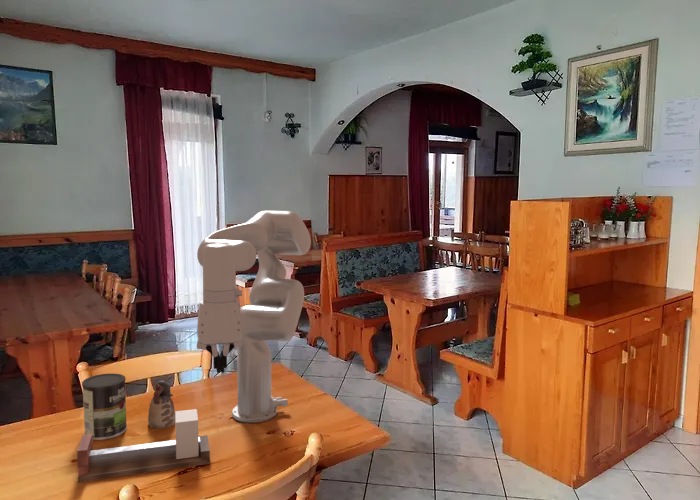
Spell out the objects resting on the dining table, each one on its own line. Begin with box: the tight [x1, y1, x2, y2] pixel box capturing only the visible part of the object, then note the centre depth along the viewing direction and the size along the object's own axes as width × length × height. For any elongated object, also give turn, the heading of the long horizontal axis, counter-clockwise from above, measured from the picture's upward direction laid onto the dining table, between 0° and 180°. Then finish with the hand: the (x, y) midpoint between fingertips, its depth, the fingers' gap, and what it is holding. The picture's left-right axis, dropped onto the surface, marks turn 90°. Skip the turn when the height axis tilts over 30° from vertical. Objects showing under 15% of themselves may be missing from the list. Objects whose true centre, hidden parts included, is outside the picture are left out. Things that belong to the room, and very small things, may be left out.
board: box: [76, 433, 211, 483], centre depth 124 cm, size 28×9×7 cm, turn 108°
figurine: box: [147, 380, 176, 430], centre depth 145 cm, size 7×7×12 cm
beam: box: [89, 436, 200, 468], centre depth 124 cm, size 24×2×3 cm, turn 108°
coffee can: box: [81, 372, 128, 441], centre depth 139 cm, size 10×10×14 cm
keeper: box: [175, 408, 199, 459], centre depth 127 cm, size 5×6×9 cm
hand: (220, 370), depth 127 cm, fingers closed
